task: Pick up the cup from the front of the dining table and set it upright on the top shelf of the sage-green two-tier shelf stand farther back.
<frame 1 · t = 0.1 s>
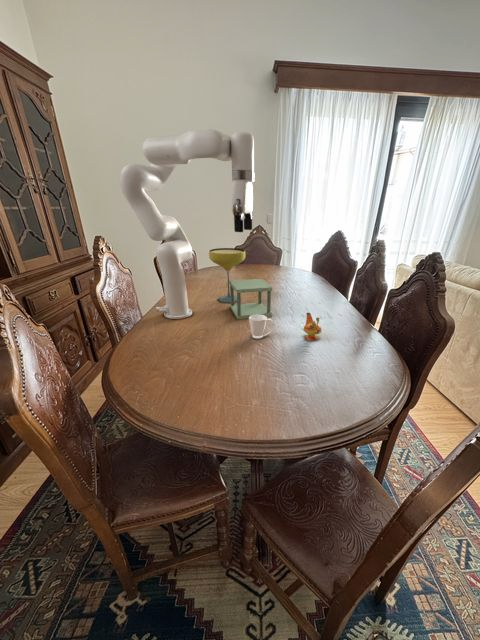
hand: (243, 230, 107), 37 cm above the table, tool pointing down, fingers open, 9 cm apart
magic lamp: (310, 336, 114), on the table
shelf: (250, 311, 137), on the table
cocktail glass: (229, 299, 153), on the table
cup: (261, 336, 113), on the table
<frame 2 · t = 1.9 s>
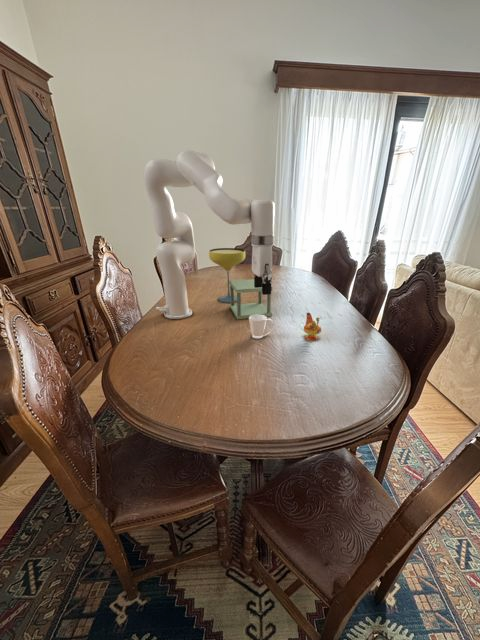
hand: (262, 290, 104), 18 cm above the table, tool pointing down, fingers open, 9 cm apart
nothing on the table moved.
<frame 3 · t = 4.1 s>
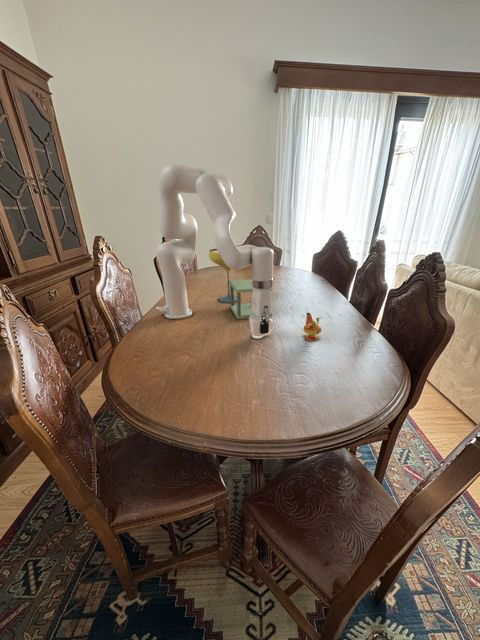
hand: (261, 329, 111), 3 cm above the table, tool pointing down, fingers closed on cup, 6 cm apart
cup: (261, 336, 113), on the table, touching gripper
everything else where it was.
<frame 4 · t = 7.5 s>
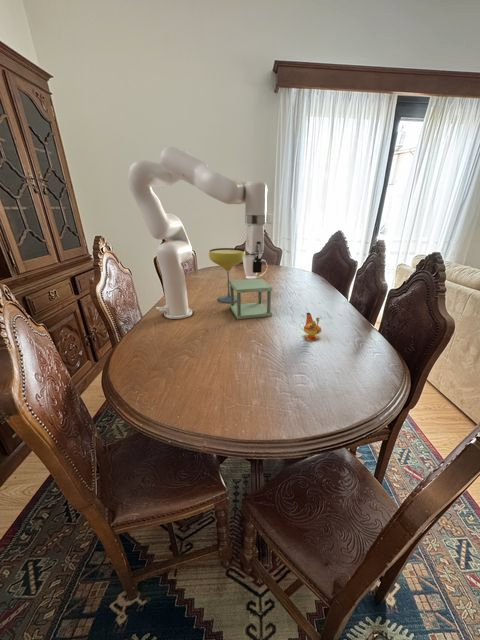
hand: (254, 269, 112), 23 cm above the table, tool pointing down, fingers closed on cup, 6 cm apart
cup: (254, 278, 114), point 20 cm above the table, touching gripper
everything else where it was.
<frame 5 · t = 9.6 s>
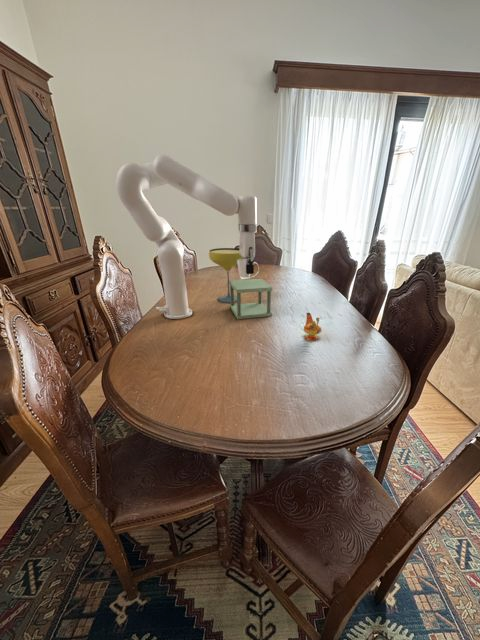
hand: (247, 271, 128), 19 cm above the table, tool pointing down, fingers closed on cup, 6 cm apart
cup: (248, 278, 129), point 16 cm above the table, touching gripper
everything else where it was.
when the fingers open (17 cm above the table, at t = 10.9 s): cup stays where it is, resting on shelf.
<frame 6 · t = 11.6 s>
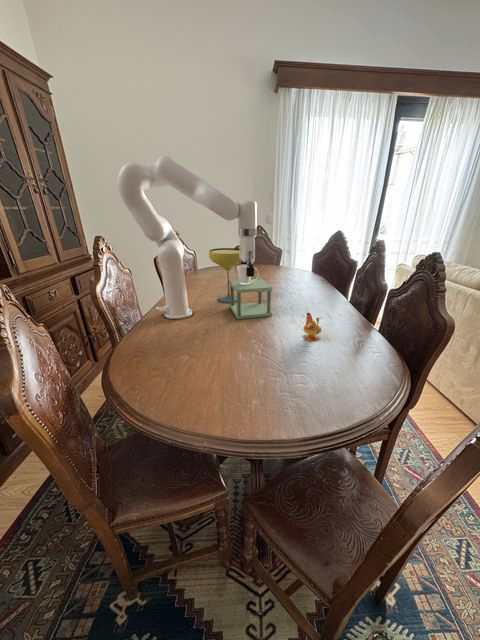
hand: (247, 273, 128), 18 cm above the table, tool pointing down, fingers open, 9 cm apart
cup: (247, 284, 130), point 13 cm above the table, touching shelf
everything else where it was.
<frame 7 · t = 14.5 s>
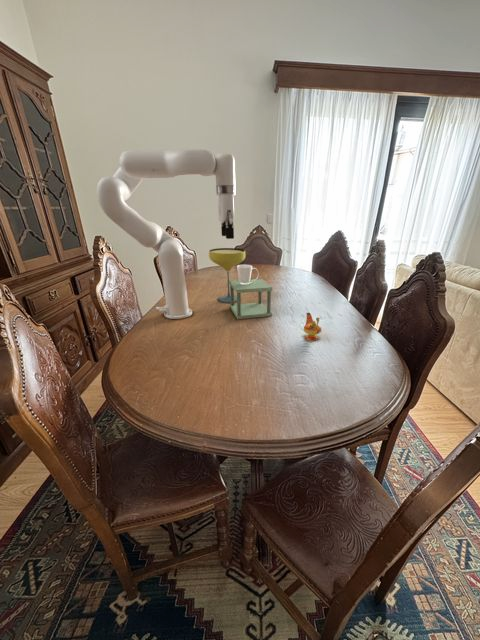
hand: (227, 237, 122), 33 cm above the table, tool pointing down, fingers open, 9 cm apart
nothing on the table moved.
at the end: cup inside the target area on the shelf (1.0 cm from its centre), point 13.3 cm above the shelf's base; cup tilted 0°; the gripper is holding nothing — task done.
